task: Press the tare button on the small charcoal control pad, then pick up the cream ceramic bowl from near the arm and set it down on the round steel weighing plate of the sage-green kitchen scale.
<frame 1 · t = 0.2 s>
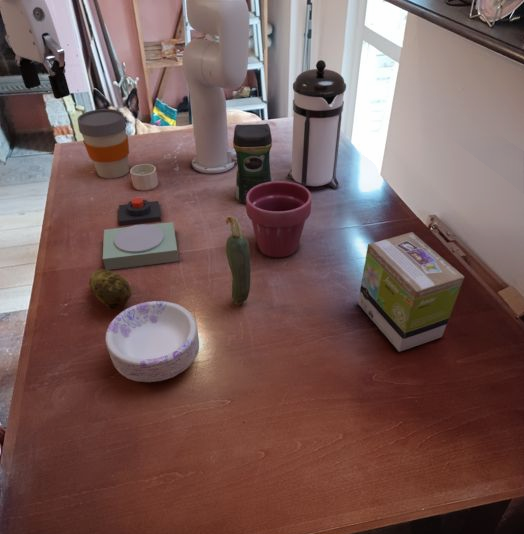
hand: (47, 91, 94), 31 cm above the table, tool pointing down, fingers open, 9 cm apart
scale: (142, 250, 110), on the table
flower pot: (277, 247, 111), on the table
coffee jar: (254, 198, 127), on the table
tare button: (137, 203, 118), point 3 cm above the table, slide at 0.1 cm
vegetable: (240, 306, 96), on the table
reusable coffee cup: (113, 171, 138), on the table
potato: (114, 301, 98), on the table
paper bowls: (159, 361, 86), on the table
coffee press: (309, 181, 133), on the table
tea box: (397, 322, 92), on the table
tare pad: (140, 215, 121), on the table
bowl: (146, 185, 132), on the table
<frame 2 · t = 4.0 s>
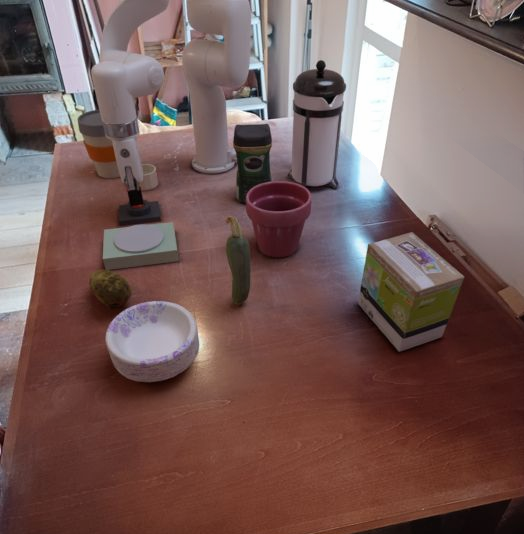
hand: (136, 203, 118), 3 cm above the table, tool pointing down, fingers closed
tare button: (138, 206, 119), point 3 cm above the table, slide at -0.7 cm, touching gripper
everything else where it was.
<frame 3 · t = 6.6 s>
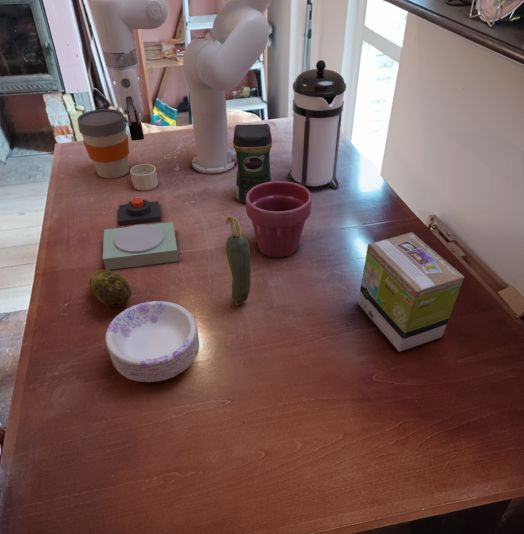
hand: (137, 138, 123), 13 cm above the table, tool pointing down, fingers closed
tare button: (137, 203, 118), point 3 cm above the table, slide at 0.1 cm
everything else where it was.
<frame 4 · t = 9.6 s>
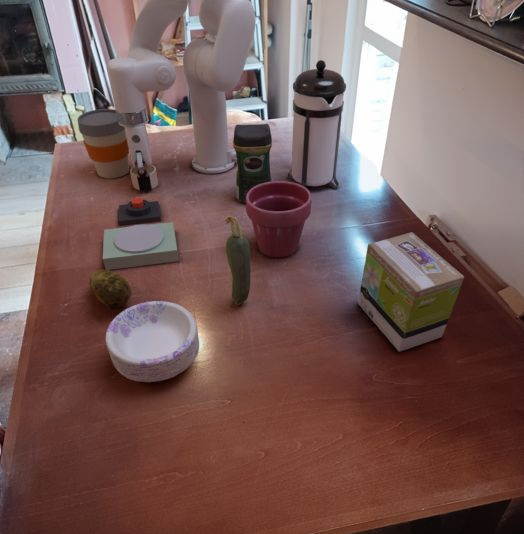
hand: (145, 182, 131), 1 cm above the table, tool pointing down, fingers closed on bowl, 7 cm apart
bowl: (146, 185, 132), on the table, touching gripper
everything else where it was.
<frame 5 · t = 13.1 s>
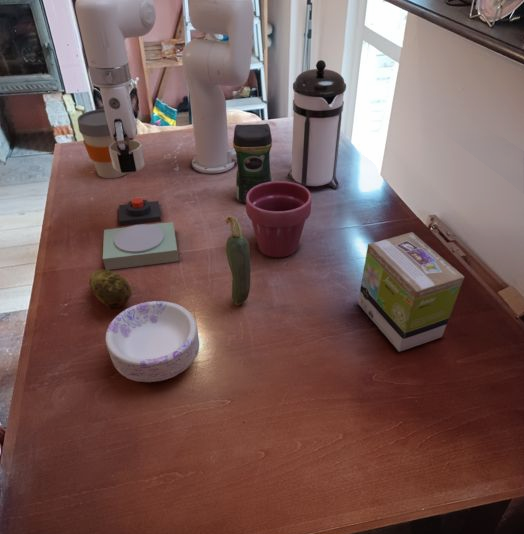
hand: (128, 163, 105), 16 cm above the table, tool pointing down, fingers closed on bowl, 7 cm apart
bowl: (129, 166, 106), point 15 cm above the table, touching gripper
everything else where it was.
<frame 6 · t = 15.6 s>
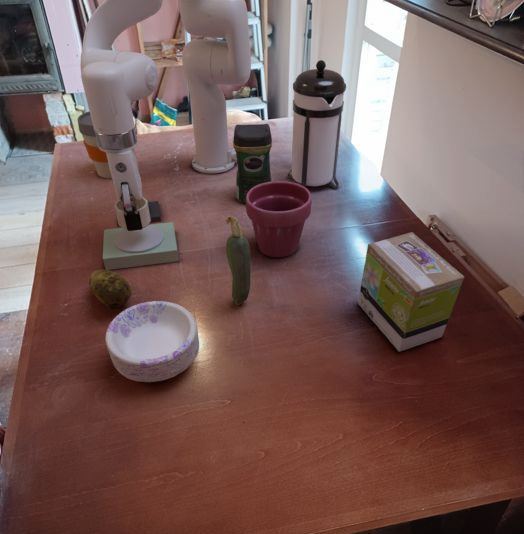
hand: (134, 219, 104), 8 cm above the table, tool pointing down, fingers closed on bowl, 7 cm apart
bowl: (135, 223, 105), point 7 cm above the table, touching gripper
everything else where it was.
when the fingers open (4 cm above the table, at t = 17.1 s): bowl stays where it is, resting on scale.
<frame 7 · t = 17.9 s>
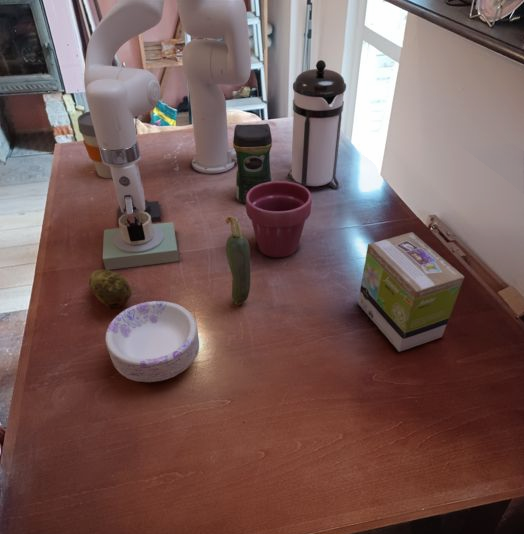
hand: (137, 228, 106), 6 cm above the table, tool pointing down, fingers open, 9 cm apart
bowl: (138, 237, 107), point 4 cm above the table, touching scale
everything else where it was.
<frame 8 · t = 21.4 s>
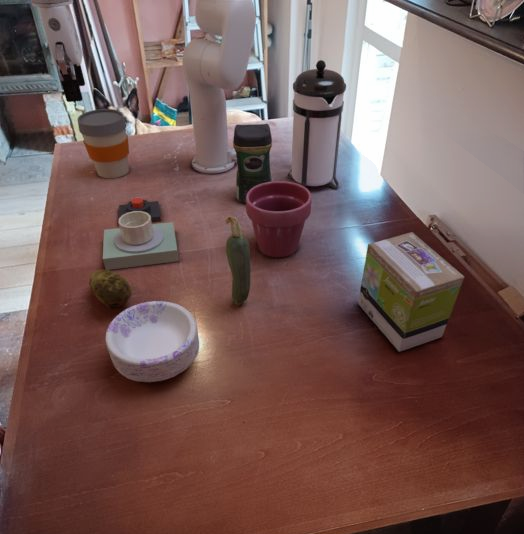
hand: (76, 93, 102), 28 cm above the table, tool pointing down, fingers open, 9 cm apart
nothing on the table moved.
at the end: tare button pushed in 0.9 cm at the most during the clip, back to where it started at the end; bowl 0.1 cm off-centre on the scale, point 3.6 cm above the scale's base; bowl tilted 0° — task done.
